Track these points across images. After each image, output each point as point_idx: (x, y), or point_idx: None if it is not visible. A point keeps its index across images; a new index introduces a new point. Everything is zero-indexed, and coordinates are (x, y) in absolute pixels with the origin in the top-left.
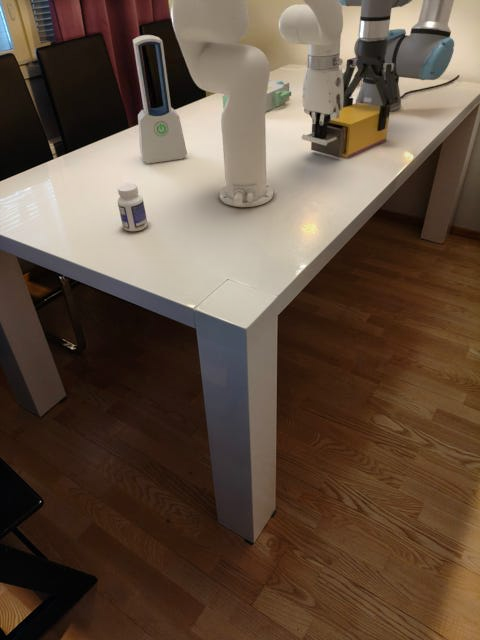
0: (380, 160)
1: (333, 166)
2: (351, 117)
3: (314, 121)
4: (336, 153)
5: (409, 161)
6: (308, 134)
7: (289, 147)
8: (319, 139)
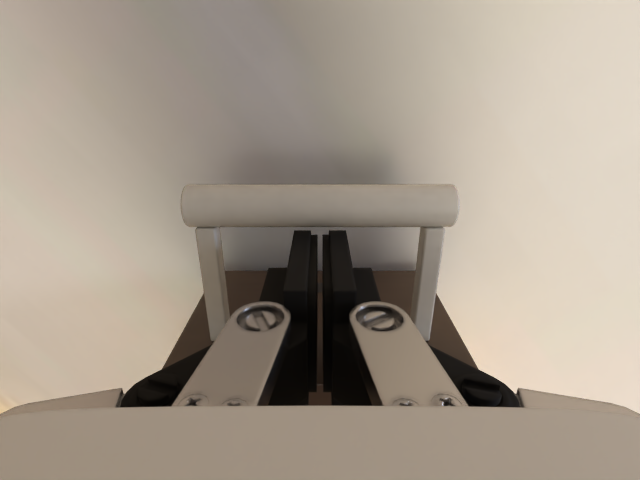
0: (89, 376)
1: (182, 181)
2: None
3: (378, 323)
4: (232, 280)
5: None
6: (435, 264)
7: (580, 259)
8: (253, 203)
